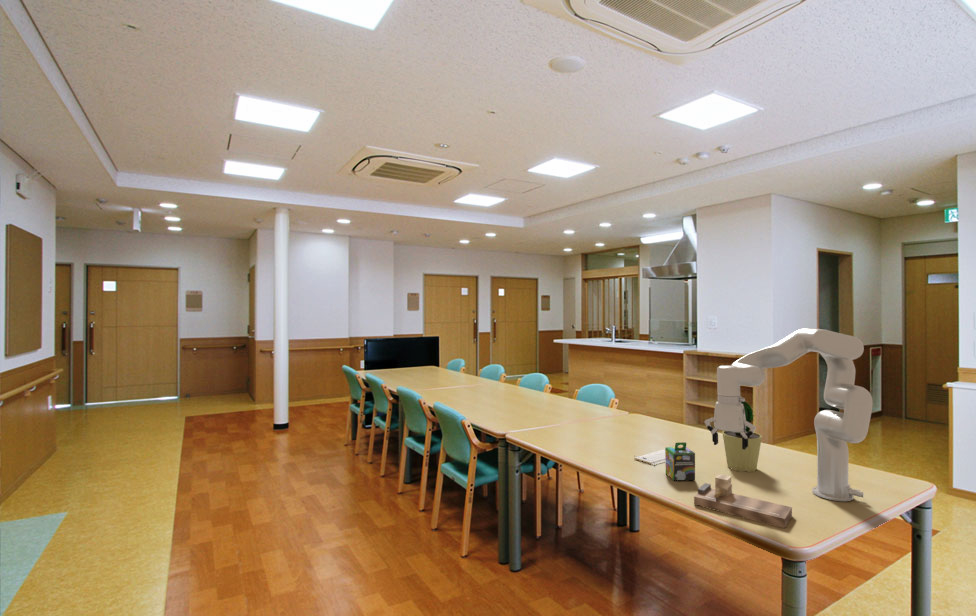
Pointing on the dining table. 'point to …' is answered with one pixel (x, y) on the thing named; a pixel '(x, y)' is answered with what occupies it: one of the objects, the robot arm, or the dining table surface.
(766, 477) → the dining table surface
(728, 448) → the potted cactus
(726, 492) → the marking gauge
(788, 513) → the walnut board
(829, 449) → the robot arm
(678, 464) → the chalk box
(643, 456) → the baseboard molding
